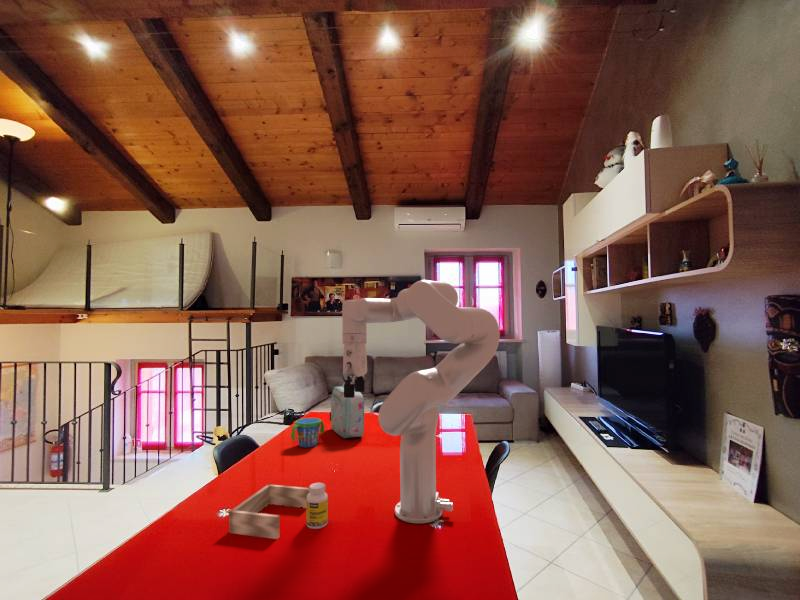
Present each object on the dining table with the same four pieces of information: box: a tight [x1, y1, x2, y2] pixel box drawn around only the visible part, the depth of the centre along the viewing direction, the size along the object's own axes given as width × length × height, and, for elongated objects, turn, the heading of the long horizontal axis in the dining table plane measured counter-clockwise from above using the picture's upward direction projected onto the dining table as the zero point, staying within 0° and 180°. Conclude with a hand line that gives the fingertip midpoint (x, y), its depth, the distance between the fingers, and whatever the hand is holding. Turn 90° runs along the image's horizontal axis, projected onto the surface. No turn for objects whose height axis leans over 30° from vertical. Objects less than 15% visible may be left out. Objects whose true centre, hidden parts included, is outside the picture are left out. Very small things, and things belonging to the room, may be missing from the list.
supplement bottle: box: [305, 482, 329, 530], centre depth 102 cm, size 5×5×10 cm
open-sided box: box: [228, 483, 310, 540], centre depth 105 cm, size 13×17×5 cm
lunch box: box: [329, 383, 365, 439], centre depth 185 cm, size 27×10×21 cm, turn 25°
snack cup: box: [290, 417, 325, 448], centre depth 167 cm, size 16×10×10 cm
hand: (354, 394), depth 125 cm, fingers open, 9 cm apart
